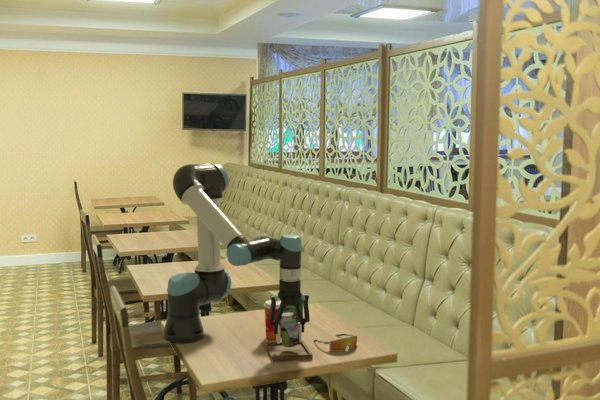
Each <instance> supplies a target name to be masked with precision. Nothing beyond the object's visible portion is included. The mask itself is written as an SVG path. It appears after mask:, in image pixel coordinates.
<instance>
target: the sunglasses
mask: <svg viewBox="0 0 600 400" xmlns="http://www.w3.org/2000/svg"><path fill="white" fill-rule="evenodd" d="M344 336H346V337H344ZM334 337H342V338H337V339H335V340H330V341H327V340H326V341H324V340H319V339H313V341H314V342H317V343H322V344H324V345H329V351H330V352H342V351H343V352H344V351H346V350H347V348H348V349H349V350H352V349H354V348H355V347H356V346H357V343H358V335H357V334H356V335H355V334H348V333H339V334H335V335H334Z"/></svg>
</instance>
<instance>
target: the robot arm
mask: <svg viewBox="0 0 600 400" xmlns="http://www.w3.org/2000/svg"><path fill="white" fill-rule="evenodd" d="M228 186H229V176H228V173H227V170H226V169H224V167H223V166H222V165H221V164H219V163H215V162H206V163H205V162H204V163H195V164H193V163H192V164H191V163H190V164H185V165H183V166H180V167H179V168H178V169H177V170H176V171H175V173H174V176H173V178H172V188H173V190H174V193H175V195H176V197H177V199H178V200H179V201H180V202H181V203H182V204H183V205H186V206H188V207H189V208H190V209H191V210H192V212H194V214H195V215H196V227H197V228H196V229H197V233H196V235H197V259H198V261H197V262H198V264H197V265H196V266H195V267H194V272H181V273H177V274H175V275H173V276H171V277H170V278H169V279H168V282H167V288H166V290H167V291H166V292H167V318H166V322H165V325H164V327H163V331H162V338H163V339H164V340H165V341H167V342H169V343H174V344H188V343H194V342H197V341H200V340H202V339H203V338H204V336H205V334H204V333H205V332H204V327H203V324H202V320H201V318H200V306H205V305H207V304H210V303H213V302H218V301H220V300H223V299H224V298H226V297H227V296H228V295H229V293H230V292H231V288H232V279H231V276H229V272H228V271H226V270H225V266H224V265H223V264H222V263H221V245H222V246H223V247H224V248H225V249H226V258H227V261H228V263H229V264H230V265H232V266H235V267H241V266H246V265H249V264H253V263H257V262H260V261H264V260H275V261H279V281H278V282H279V283H278V293H277V294H276V295H273V294H272V295H270V296H269V297H270V298H269V300H271V307H270V314H269V323H270V324H271V325H274V334H276V341H275V342H277V343H278V344H280V342H281V339H280V325H279V321H280V319H281V316H282V314H283V311H284V309H285V307H286V306H288V305H294V306H295V309H296V312H297V315H298V317H299V320H300V322H298V326H297V330H298V338H299V343H300V342H301V340H302V333H305V325H306V324H307V323H310V322H311V321H310V309H309V308H310V307H309V299H310V296H309V294H307V293H303V294H301V293H302V290H301V286H302V281H301V278H302V252H303V251H302V250H303V247H302V237H301V236H300V235H298V234H291V233H290V234H288V233H287V234H283V235H281V236H280V238H277V237H270V236H267V235H257V236H256V237H254V239H253V240H248V239H247V238H246V237H245V235H244V234H243V233H242V232H241V231H240V230H239V228H237V227H236V225H235V224H234V222H232V221H231V219H229V217H228V216H227V215H226V214H225V213H224V212H223V211H222V210H221V208H220V201H221V200H223V197H224V195H223V192H225V191H226V189H227V188H228ZM301 297H302V300H303V316H302V313H301V310H300V308H299V304H298V301H299V299H300V298H301ZM278 299H279V301H281V303H280V307H279V309H278V312H277V314H276V317H275V319H274V314H275V307H276V302H277V300H278Z"/></svg>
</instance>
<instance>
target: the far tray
mask: <svg viewBox="0 0 600 400" xmlns="http://www.w3.org/2000/svg"><path fill="white" fill-rule="evenodd" d="M264 347H265V350H266V352H267V353H268V355H269V357H270V359H271V360H272V363H280V362H281V363H283V362H295V361H305V360H306V361H311V360H313V353H312V352H311V350H310V349H309V347H308V346H307V345H306V343H305V342H304V341H303V339H301V342H300V343H299V344H297V346H295V347H290V348H287V347H285V346H283V345H282V341H280V344H278V343H277V342H276V341H272V342H267V343H266V344H265V345H264Z"/></svg>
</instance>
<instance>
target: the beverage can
mask: <svg viewBox="0 0 600 400" xmlns="http://www.w3.org/2000/svg"><path fill="white" fill-rule="evenodd" d="M279 323H280V331H281V339H280V340H281V342H282V345H283V346H285V347H287V348H290V347H295V346H297V344H299V338H298V326H297V322H296V316H295V315H294V313H292V312H287V313H283V314H282V316H281V319H280V321H279Z"/></svg>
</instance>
